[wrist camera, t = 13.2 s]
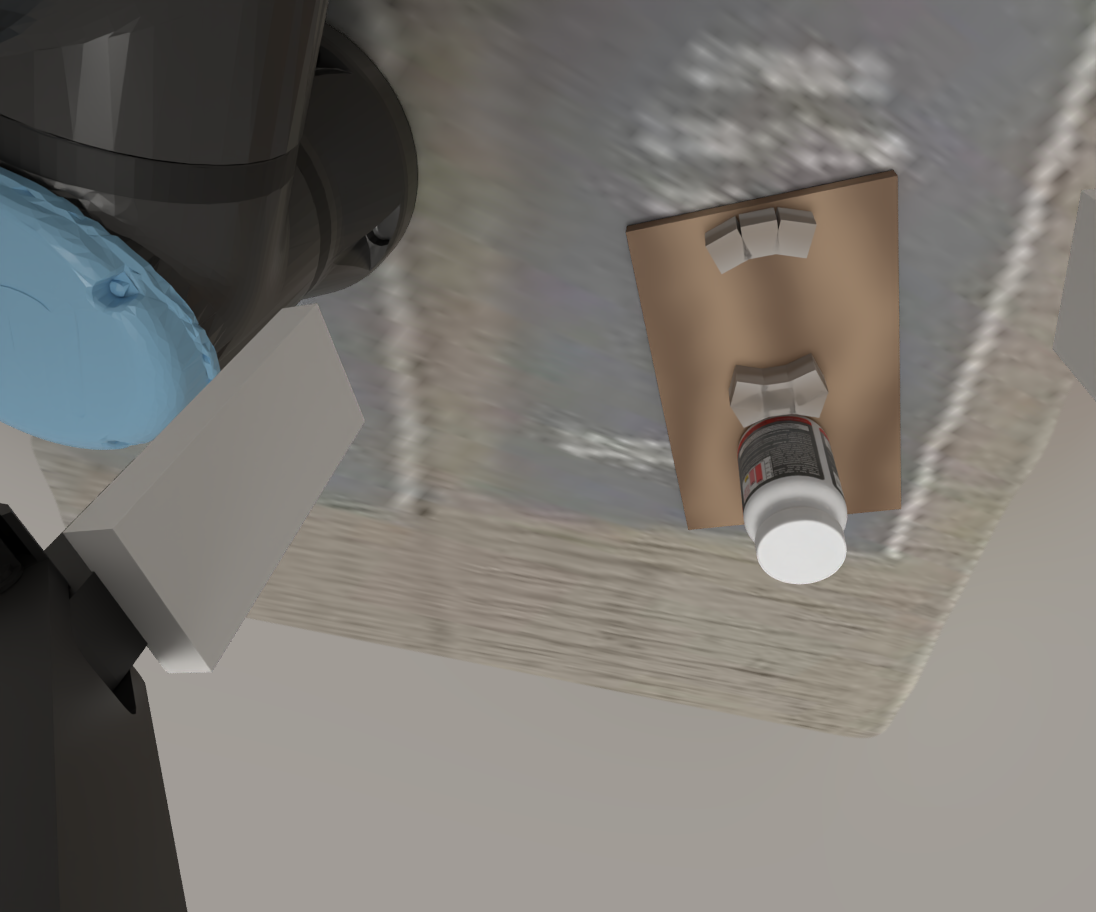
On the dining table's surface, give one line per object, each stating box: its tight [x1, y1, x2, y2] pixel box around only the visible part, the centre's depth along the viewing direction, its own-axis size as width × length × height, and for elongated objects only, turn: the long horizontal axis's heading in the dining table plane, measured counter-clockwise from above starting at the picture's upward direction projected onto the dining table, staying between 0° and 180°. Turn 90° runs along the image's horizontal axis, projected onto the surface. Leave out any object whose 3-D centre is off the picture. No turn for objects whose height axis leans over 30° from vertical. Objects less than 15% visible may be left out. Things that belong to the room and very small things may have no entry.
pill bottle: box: [737, 414, 847, 584], centre depth 45 cm, size 6×6×10 cm
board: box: [626, 170, 901, 530], centre depth 46 cm, size 14×22×3 cm, turn 15°
